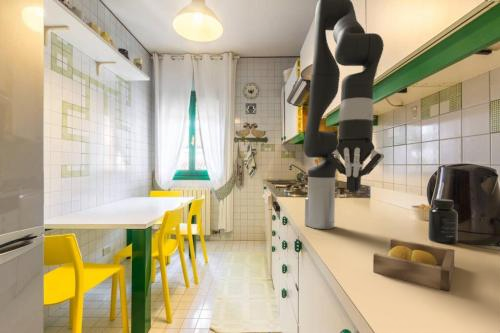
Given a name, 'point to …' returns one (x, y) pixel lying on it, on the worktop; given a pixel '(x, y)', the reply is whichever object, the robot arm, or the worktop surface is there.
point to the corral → (418, 265)
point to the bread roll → (412, 255)
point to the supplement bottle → (443, 222)
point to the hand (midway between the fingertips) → (353, 192)
